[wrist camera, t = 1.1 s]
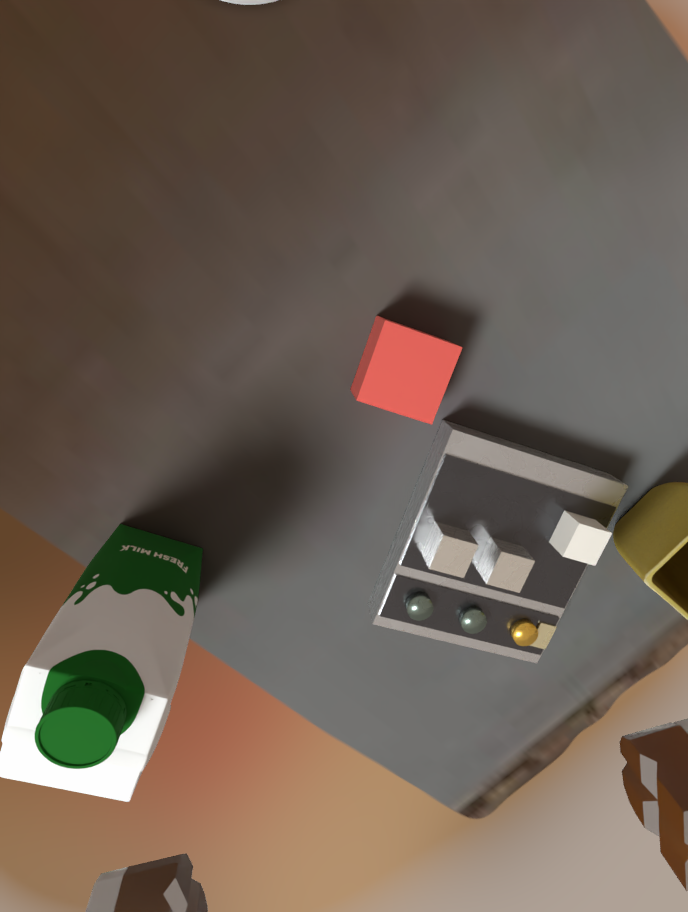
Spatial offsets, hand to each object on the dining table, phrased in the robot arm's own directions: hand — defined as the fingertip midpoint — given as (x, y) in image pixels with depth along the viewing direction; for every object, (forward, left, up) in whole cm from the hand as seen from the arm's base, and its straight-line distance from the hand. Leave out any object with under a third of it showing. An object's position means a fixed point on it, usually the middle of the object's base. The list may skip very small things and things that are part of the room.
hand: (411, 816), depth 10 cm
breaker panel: (+8, +19, -36) cm, 42 cm away
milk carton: (+19, -8, -37) cm, 42 cm away
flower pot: (+2, +33, -37) cm, 49 cm away
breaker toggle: (+4, +24, -33) cm, 41 cm away
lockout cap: (-4, +6, -36) cm, 37 cm away
